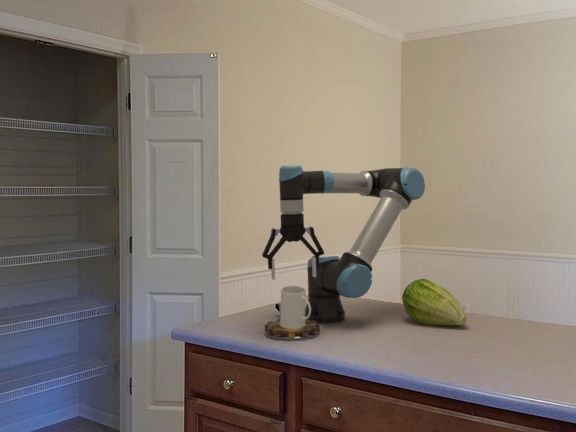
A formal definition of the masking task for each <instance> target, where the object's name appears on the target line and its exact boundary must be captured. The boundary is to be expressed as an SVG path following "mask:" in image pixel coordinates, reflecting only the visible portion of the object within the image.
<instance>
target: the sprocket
mask: <svg viewBox="0 0 576 432" xmlns="http://www.w3.org/2000/svg"><path fill="white" fill-rule="evenodd" d="M278 307H279V309H278V313H279V318H278V319H276V320H275V321H272V320H271V321H267V324H266V323H265V324H264V332H265V331H266V333H267V334H269V335H270V334H274V335H275V336H278V337H281V336H289V337H295V336H303V337H304V336H309V334H311V333H312V334H316V333H318V330H320V331H321V328H320V324H321V323H317V321H309V320H308V319H306V320H305V326H304V327H303V328H300V329H286V328H283V327H281V326H280V316H281V302H280V303H278Z"/></svg>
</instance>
